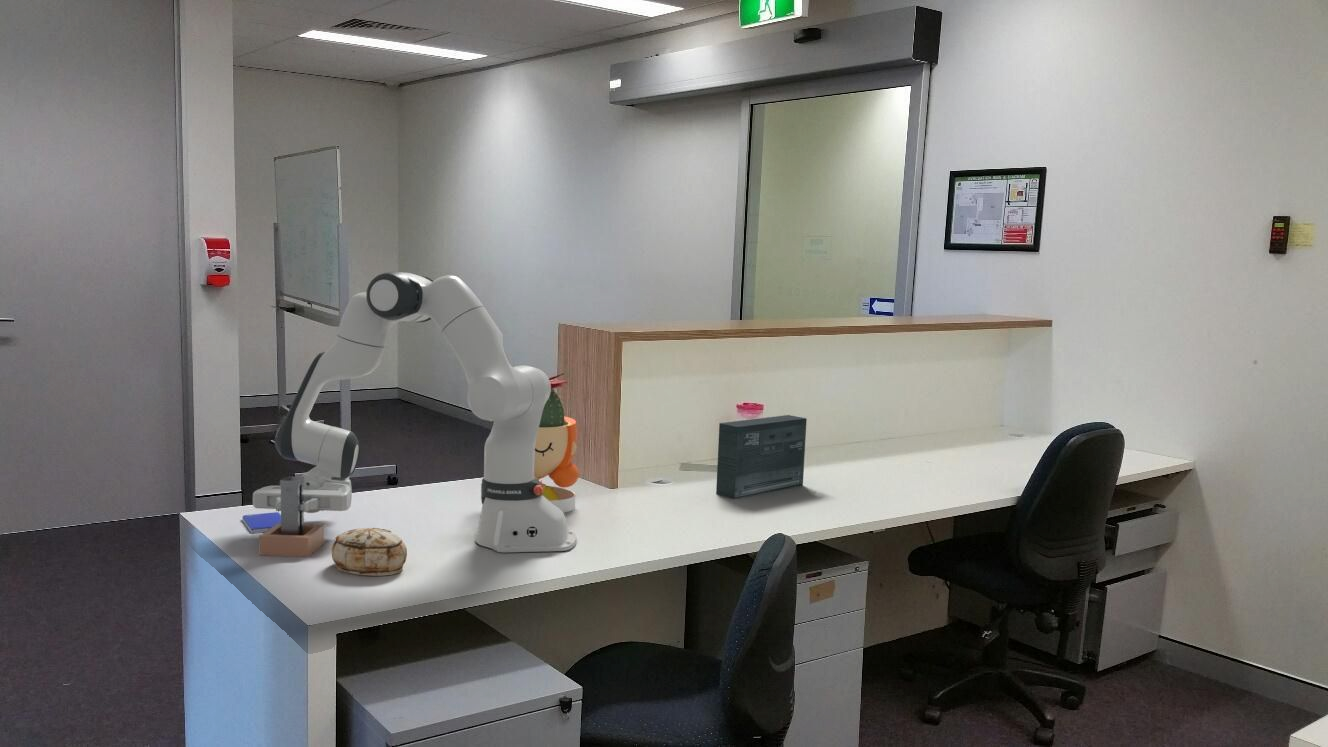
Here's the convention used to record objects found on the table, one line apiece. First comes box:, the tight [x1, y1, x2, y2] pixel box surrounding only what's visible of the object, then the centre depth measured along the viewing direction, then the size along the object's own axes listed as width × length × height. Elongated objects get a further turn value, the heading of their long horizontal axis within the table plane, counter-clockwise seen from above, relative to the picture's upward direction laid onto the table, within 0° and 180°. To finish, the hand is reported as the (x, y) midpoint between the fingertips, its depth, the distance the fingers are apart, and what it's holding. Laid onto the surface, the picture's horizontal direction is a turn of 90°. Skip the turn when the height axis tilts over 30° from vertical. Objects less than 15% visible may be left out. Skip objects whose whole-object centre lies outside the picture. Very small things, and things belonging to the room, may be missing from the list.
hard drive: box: [241, 511, 281, 534], centre depth 229 cm, size 2×8×12 cm
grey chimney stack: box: [279, 475, 305, 536], centre depth 210 cm, size 4×4×13 cm
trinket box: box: [331, 527, 408, 577], centre depth 200 cm, size 13×15×8 cm
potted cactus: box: [534, 372, 580, 514], centre depth 256 cm, size 22×22×35 cm
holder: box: [259, 523, 325, 557], centre depth 211 cm, size 10×10×4 cm
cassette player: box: [715, 414, 807, 500], centre depth 282 cm, size 29×7×20 cm, turn 133°
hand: (290, 507), depth 209 cm, fingers closed on grey chimney stack, 3 cm apart
